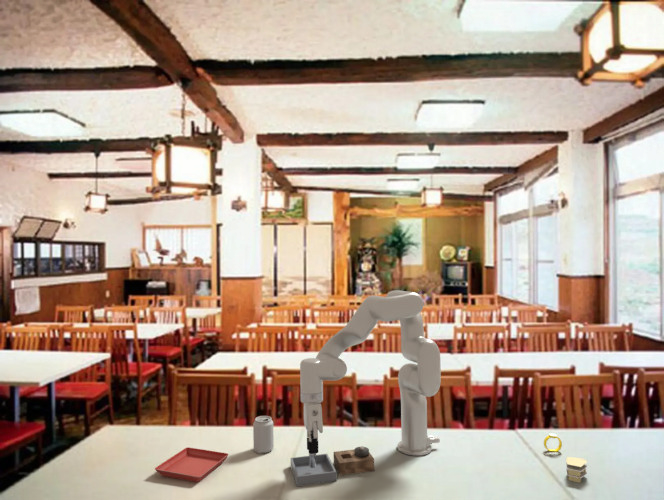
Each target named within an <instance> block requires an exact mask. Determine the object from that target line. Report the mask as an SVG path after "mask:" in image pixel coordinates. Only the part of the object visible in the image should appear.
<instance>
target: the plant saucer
mask: <svg viewBox="0 0 664 500" xmlns="http://www.w3.org/2000/svg"><path fill="white" fill-rule="evenodd" d="M228 456H229V453H228V452H227V453H226V452H221V451H215V450H209V449H208V450H207V449H202V448H201V449H200V448H195V447H189V446H188V447H185V448H183V449H182V450H181V451H179V452H178V453H176V454H174V455H173V456H171V457H170V458H168V459H166V460H165V461H163V462H161V463H160V464H159V465H158V466H156V467H155V468H154V470H155V471H156V473H158V474H159V475H160V476H162V477H166V478H172V479H177V480H183V481H189V482H193V483H199V482H201V481H202V480H203V479H205V477H208V475H209V474H210V473H212V472H213V471H214V470H216V469H217V468H218V467H219V466H221V465H222V464H223V463H224V461H226V459H227V458H228Z"/></svg>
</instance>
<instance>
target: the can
mask: <svg viewBox="0 0 664 500" xmlns="http://www.w3.org/2000/svg"><path fill="white" fill-rule="evenodd" d="M272 419H273V418H272V417H271V416H268V415H260V416H256V417H255V419H254V422H253V424H252V427H253V433H252V434H253V436H252V437H253V450H254V451H255V453H257V454H268V453H270V452H271V451H273V449H274V446H275V445H274V444H275V443H274V440H275V439H274V437H275V436H274V421H273V420H272Z"/></svg>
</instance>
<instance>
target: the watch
mask: <svg viewBox="0 0 664 500" xmlns="http://www.w3.org/2000/svg"><path fill="white" fill-rule="evenodd" d="M551 438H552V439H557V440H558V446H557V447H556V448H555V449H554V448H552V449H551V448H550V449H549V448H548V446H547V442H548V440H549V439H551ZM562 443H563V442H562V440H561V439H560V437H558V435H557V434H555V433H548V435H547V436H546V437H545V438H544V440H543V446H544V448H545V449H546V450H547V451H548V452H555V453H558V452H559V451H560V450H561V449H562V447H563V444H562Z"/></svg>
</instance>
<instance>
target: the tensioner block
mask: <svg viewBox="0 0 664 500" xmlns="http://www.w3.org/2000/svg"><path fill="white" fill-rule="evenodd" d="M333 466H334V468H335V470H336V472H338V474H339V476H346V475H353V474H360V473H366V472H367V473H368V472H374V471H375V458H374V457H373V455H372V454H371V452H370V449H369V448H368V447H366V446H357V447H355V448H354V449H347V450H338V451H337V450H336V451H333Z"/></svg>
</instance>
